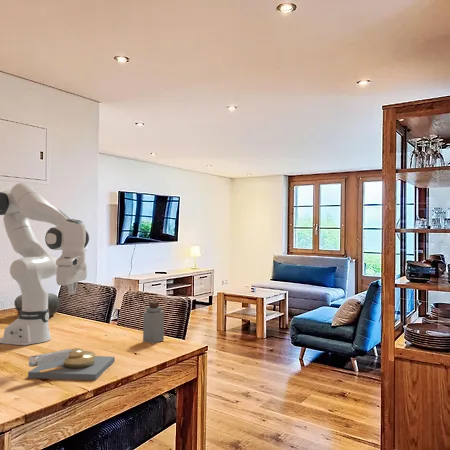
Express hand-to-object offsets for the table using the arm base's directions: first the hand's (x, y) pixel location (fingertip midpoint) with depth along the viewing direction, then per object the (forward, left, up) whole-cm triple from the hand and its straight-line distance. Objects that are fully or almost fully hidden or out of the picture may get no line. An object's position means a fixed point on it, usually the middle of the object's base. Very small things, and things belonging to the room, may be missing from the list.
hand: (72, 293), depth 165 cm
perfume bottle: (+27, +29, -26) cm, 48 cm away
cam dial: (+5, -18, -24) cm, 30 cm away
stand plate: (+7, -13, -26) cm, 30 cm away
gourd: (-53, +74, -26) cm, 95 cm away
